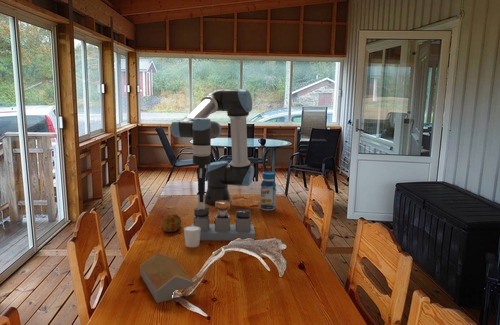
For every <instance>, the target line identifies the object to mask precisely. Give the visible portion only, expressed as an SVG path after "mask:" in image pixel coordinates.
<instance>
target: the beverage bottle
mask: <svg viewBox="0 0 500 325" xmlns="http://www.w3.org/2000/svg"><path fill="white" fill-rule="evenodd" d="M275 178H276V172H274V171H264V172H262V179H263V180H262V182H261V184H260V186H261V187H260V207H259V208H260V209H261V210H263V211H274V210H275V209H276V200H277V199H276V195H277V194H276V193H277V188H276V187H277V183H276V182H275Z"/></svg>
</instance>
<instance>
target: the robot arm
mask: <svg viewBox="0 0 500 325" xmlns="http://www.w3.org/2000/svg"><path fill="white" fill-rule="evenodd" d="M252 110H253V98H252V95H251V93H250V91H249V90H248V89H243V88H218V89H216V90H213V91H210V92H209V93H207V94H206V95H205V96H204V97H202V98H201V100H200V103H199V104H197V105H196V106H195V107H194V108H193V109H192V110H191V111H190V112H189V113H188V114H187V115H186V116H184V117H183V119H180V120H179V119H178V120H173V121H172V122H171V124H170V133H171V135H172V136H173V137H174V138H188V139H189V138H191V139H192V146H191V149H192V154H193V155H192V164H193V165H194V166H198V167H196V176H197V177H196V178H197V192H196V195H197V196H198V197H197V198H198V199H197V203H198V205H197V206H198V207H197V208H198V209H205V208H206V206H205V205H206V204H207V205H213V206H215V202H216V201H222V200H223V201H229V202H230V203H231V200H232V199H231V194H230V192H229V189H228V187H229V186H237V187H249V186H251V184H252V182H253V180H254V177H255V176H254V175H255V166H253V165H252V164H251V161H250V160H249V159H248V134H247V131H248V129H247V128H248V127H247V118H248V116H249V115H250V113H251V112H252ZM217 112H226V113H227V116H228V117H229V119H230V120H229V121H230V139H231V141H230V143H231V161H230V162H229V161H227V160H226V161H225V160H224V161H223V160H221V161H219V160H218V161H213V162H211V153H212V152H211V151H212V145H211V144H212V143H211V142H212V139H216V138H218V137H220V135H221V133H222V126H221V124H220V123H219V122H218V121H212V120H211V118H208V117H209V116H210V115H211V114H214V113H217ZM206 166H207V167H206ZM206 178H207V181H206ZM206 182H207V187H206Z"/></svg>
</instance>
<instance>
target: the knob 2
mask: <svg viewBox="0 0 500 325" xmlns="http://www.w3.org/2000/svg"><path fill="white" fill-rule="evenodd" d="M251 214H252V213H251V210H250V209H246V208H240V209H236V210H235V218H236V217H237V218H241V219H246V218H250V217H251Z"/></svg>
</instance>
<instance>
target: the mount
mask: <svg viewBox="0 0 500 325" xmlns="http://www.w3.org/2000/svg"><path fill="white" fill-rule="evenodd" d="M251 220H252V218H251V216H250V218H246V219H241V218H237V217H236V216H235V223H234V224H233V223H232V224H231V222H230V221H231V215H230V214H227V218H218V213H217V214H215V215H214V223H212V224H211V223H210V214H209V215H208V216H206V218H197V216H195V215H194V216H193V223H192V224H190V226H198V227H200V228H201V232H200V241H235V240H234V239H237V238H241V239H246V238H252V239H255V240H256V231H255V227H254V226H255V225H254V224H251V222H252V221H251Z"/></svg>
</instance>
